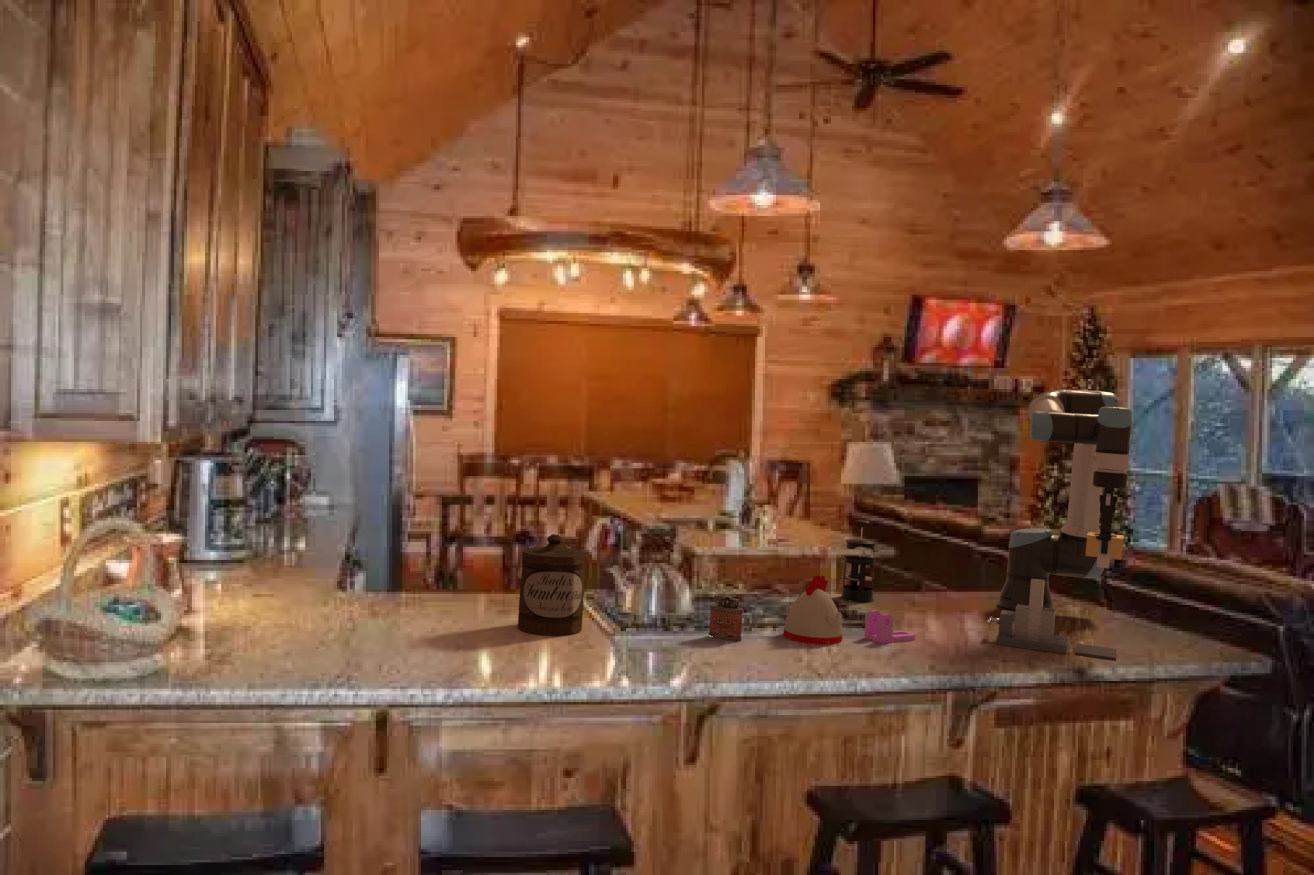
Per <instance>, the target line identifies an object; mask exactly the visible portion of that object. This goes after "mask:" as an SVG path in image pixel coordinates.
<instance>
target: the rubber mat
mask: <svg viewBox="0 0 1314 875" xmlns="http://www.w3.org/2000/svg"><path fill="white" fill-rule="evenodd" d="M1075 655H1077V656H1083V657H1088V658H1089V657H1090V658H1096V659H1103V660H1111V661H1112V660H1113V661H1116V660H1117V648H1113V647H1104V646H1098V645H1092V644H1084V643H1076V649H1075Z"/></svg>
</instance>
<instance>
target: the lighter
mask: <svg viewBox="0 0 1314 875" xmlns="http://www.w3.org/2000/svg"><path fill="white" fill-rule="evenodd" d="M713 601H716V602H718V604H717V603H712V604H710V608H709V609H710V614H709V615H710V616H709V632H708V634H709V635H711V636H713V638H712V639H715V640H720V641H727V642H735V643H738V642H742V624H743V613H744V608H742V607H738V606H739V604H740V598H734V597H733V595H728V596H725V595H721V594H719V595H718V594H715V595H713Z"/></svg>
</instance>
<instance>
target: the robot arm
mask: <svg viewBox="0 0 1314 875" xmlns="http://www.w3.org/2000/svg"><path fill="white" fill-rule="evenodd" d="M1132 411H1133V410H1131V409H1130V408H1127V407H1120V402H1119V399H1118V396H1117V395H1116V394H1115V393H1113V392H1109V391H1101V390H1081V389H1080V390H1078V389H1053V390H1047V391H1045V392H1042V393H1040V394H1038V395H1036V396H1034V397H1033V398H1032V399H1031V401H1030V402H1029V405H1028V407H1027V415H1028V416H1027V417H1028V418H1029V420H1030V423H1029V438H1030V439H1031V440H1033V441H1037V442H1042V443H1047V442H1048V443H1049V442H1051V443H1064V444H1065V443H1066V444H1067V443H1068V444H1074V445H1073V454H1072V463H1071V465H1072V466H1071V475H1070V487H1069V497H1068V509H1067V518H1066V519H1067V520H1066V524H1064V525H1063V526H1062V527H1061V528H1060V533H1059V534H1054V532H1053V530H1052V529H1051V528H1040V527H1038V528H1022V529H1020V528H1019V529H1017V530H1013V531H1012V532H1011V533H1010V536H1009V542H1008V543H1009V544H1008V546H1007V547H1008V560H1007V570H1006V580H1005V583H1004V585H1003V586H1002V590H1001V592H1000V593H999V596H998V606H1000V607H1002V608H1005V609H1008V610H1012V611H1015V609H1016V606H1017V604H1019V605H1027V606H1029V599H1030V586H1031V579H1040V580H1045V583H1044V596H1043V608H1050V609H1054V602H1053V601H1054V600H1053V598H1052V597H1053V596H1052V594H1051V589H1050V586H1049V577H1050V575H1055V576H1062V577H1063V576H1064V577H1075V578H1081V579H1097V578H1099V577H1100V576H1102V575H1103V572H1104V569H1110V560H1111V558H1110V549H1111V541H1110V540H1111V537H1112V535H1111V534H1113V535H1115V533H1114V532H1113V529H1112V528H1113V527H1112V526H1113V515H1115V514H1116V506H1117V504H1118V495H1115V490H1117V489H1118V490H1123V489H1126V488H1127V484H1128V474H1127V471H1129V461H1130V444H1131V432H1132V430H1131V429H1132V425H1133V415H1132V414H1133V412H1132ZM1100 516H1101V518H1100ZM1099 525H1100V526H1099ZM1088 532H1092V533H1100V534H1099V536H1096V539H1097V540H1099V544H1098V557H1092V556H1086V544H1087V534H1088Z"/></svg>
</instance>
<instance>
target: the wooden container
mask: <svg viewBox="0 0 1314 875" xmlns="http://www.w3.org/2000/svg"><path fill="white" fill-rule="evenodd" d="M546 541H547V542H548V543H547V544H546V546H533V547H527V548H524V549H522V553H521V554H522V555H521V574H520V576H521V577H520V587H519V599H518V618H517V628H518V629H519V630H520V631H522V632H524V633H527V634H531V635H538V636H539V635H540V636H552V637H553V636H554V637H557V636H558V637H559V636H560V637H562V636H570V635H575V634H577V633H580V632H581V631H582V629H583V614H584V599H585V597H584V595H585V572H586V571H585V568H586V567H585V565H586V563H585V562H586V552H585V551H583V550H580V549H577V548H571V547H570V548H569V547H563V545H562V541H563V539H562V536H560V535H559V534H555V533H554V534H553V533H552V534H551V535H549V536H547V538H546Z"/></svg>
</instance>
